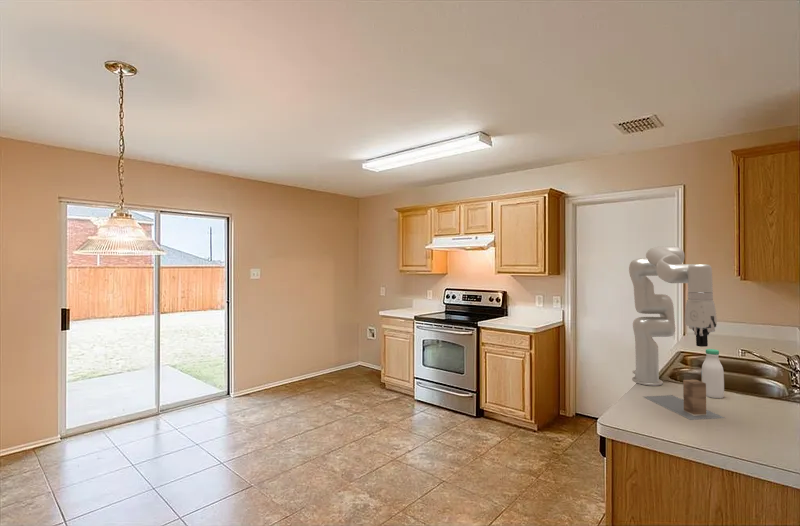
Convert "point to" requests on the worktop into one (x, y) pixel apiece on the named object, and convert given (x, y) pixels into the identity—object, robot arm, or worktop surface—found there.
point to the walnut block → (694, 397)
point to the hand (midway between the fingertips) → (701, 346)
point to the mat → (679, 407)
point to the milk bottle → (713, 374)
